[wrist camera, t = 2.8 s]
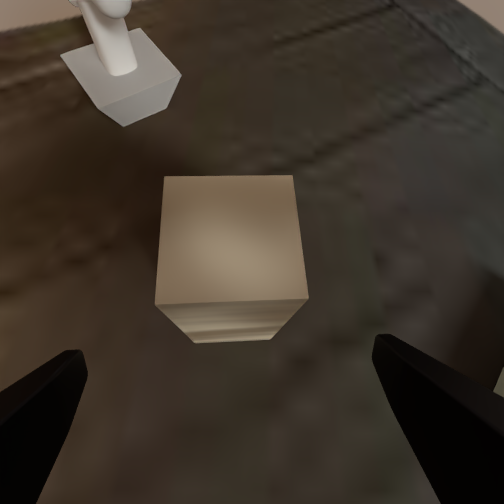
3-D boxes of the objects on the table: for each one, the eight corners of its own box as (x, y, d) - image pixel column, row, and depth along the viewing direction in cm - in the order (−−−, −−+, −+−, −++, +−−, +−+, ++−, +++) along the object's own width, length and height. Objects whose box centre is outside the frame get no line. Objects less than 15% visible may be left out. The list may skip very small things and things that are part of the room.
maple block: (270, 339, 20) (308, 298, 10) (195, 343, 19) (154, 304, 9) (264, 269, 22) (292, 175, 12) (196, 271, 21) (164, 176, 11)
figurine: (145, 61, 30) (70, -208, 16) (194, 119, 27) (154, -146, 14) (75, 87, 28) (-76, -195, 14) (121, 152, 25) (-12, -119, 12)
